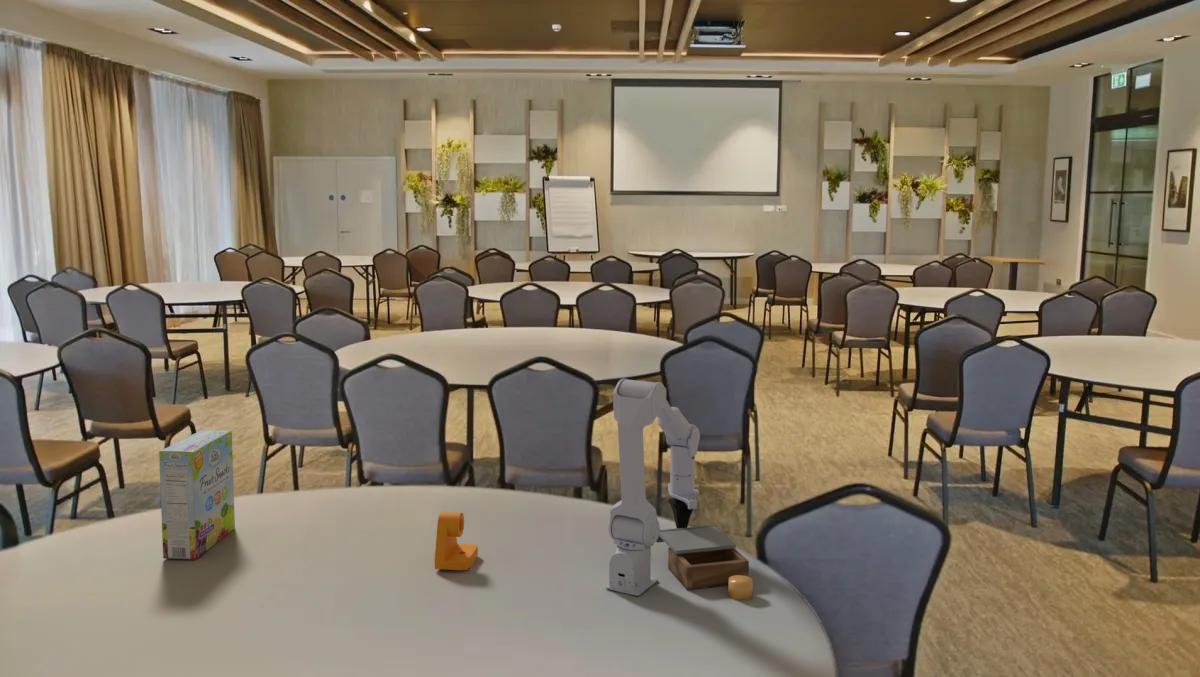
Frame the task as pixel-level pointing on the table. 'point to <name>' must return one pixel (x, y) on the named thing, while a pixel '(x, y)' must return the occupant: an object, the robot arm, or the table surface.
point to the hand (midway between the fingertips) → (681, 529)
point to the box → (707, 567)
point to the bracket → (452, 544)
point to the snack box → (196, 493)
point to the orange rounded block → (740, 587)
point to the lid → (695, 539)
